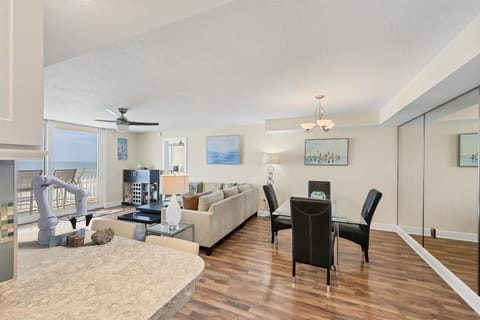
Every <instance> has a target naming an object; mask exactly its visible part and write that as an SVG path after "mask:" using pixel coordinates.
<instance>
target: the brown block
mask: <svg viewBox="0 0 480 320" xmlns="http://www.w3.org/2000/svg"><path fill="white" fill-rule="evenodd" d="M66 245H69V246H72V247H74V248H75V247H76V248H81V247H84V246H85V238H84V237H80V236H76V235H69V236H67V244H66Z"/></svg>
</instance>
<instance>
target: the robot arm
mask: <svg viewBox="0 0 480 320" xmlns="http://www.w3.org/2000/svg"><path fill="white" fill-rule="evenodd" d="M31 181H32V193H33V195H34V199H35V203H36V206H37V209H38V212H39V215H40V216H39V217H38V219H37V228H38V229H39V231H38V232H37V241H36V242H35V243H36V244H38V245H40V246H44V245H45V246H46V245H48V238H49V236H51V235H54V236H56V229H57V225H59V218H58V217H57V216H56V214H55V213H53V212H52V210H51V206H50V203H49V200H48V197H47V193H46V190H47V188H48V187H50V186H52V185H56V186H58V187H60V188H64V190H65V192H67V193H69V194H71V195H74V197H75V200H76V206H75V209H76V210H75V213H74V214H70V215H67V219H68V220H69V222H70V224H71V227H72V230H76V229H77V221H78V218H80V217H81V218H82V217H85V227H89V226H90V223H91V220H92V219H93V217H94V215H95V213H94V211H88V196H89V195H90V192H91V191H90V189H88V188H86V187H84V188H83V187H82V186H79V185H77V184H76V183H72V182H71V183H67V182H65V181H64V180H62V179H60V178H58V177H57V176H56V175H53V174H43V175H42V174H41V175H40V174H39V175H36V176H34V178H33V179H32V180H31Z"/></svg>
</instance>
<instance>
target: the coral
mask: <svg viewBox="0 0 480 320" xmlns="http://www.w3.org/2000/svg"><path fill="white" fill-rule="evenodd" d="M114 237H115V229H113V228H112V227H108V228H103V229H100V230H96V231H94V232H93V234H91V236H90V239H91V242H92V243H94V242H95V243H100V244H103V245H106V243H107V242H111V241H112V240H113V239H114Z"/></svg>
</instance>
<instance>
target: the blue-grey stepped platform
mask: <svg viewBox="0 0 480 320" xmlns="http://www.w3.org/2000/svg"><path fill="white" fill-rule="evenodd" d="M69 235H76V236H80V237H84V239H85V238H86V227H85V228H84V227H82V228H80V229H78V230H75V231H70V232H66V233H61V234H58V235H55V236H54V235H51V236H49V238H48V244H47V247H48V248H49V249H50V248H54V247H57V246H62V247H64V246H67V245H68V244H67V236H69Z"/></svg>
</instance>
